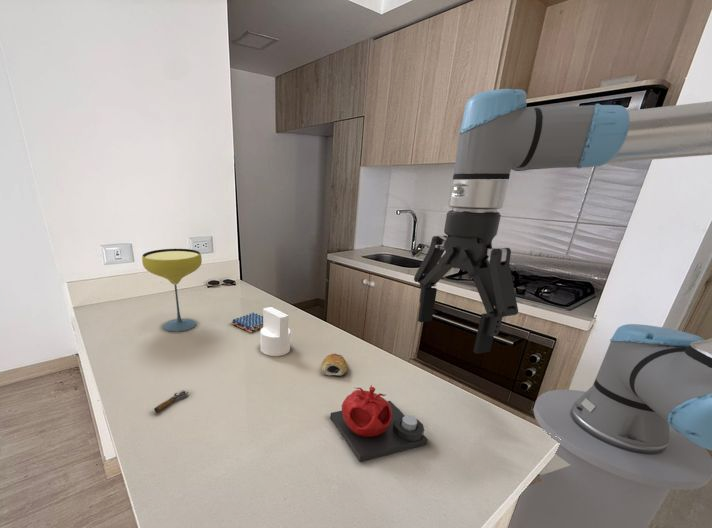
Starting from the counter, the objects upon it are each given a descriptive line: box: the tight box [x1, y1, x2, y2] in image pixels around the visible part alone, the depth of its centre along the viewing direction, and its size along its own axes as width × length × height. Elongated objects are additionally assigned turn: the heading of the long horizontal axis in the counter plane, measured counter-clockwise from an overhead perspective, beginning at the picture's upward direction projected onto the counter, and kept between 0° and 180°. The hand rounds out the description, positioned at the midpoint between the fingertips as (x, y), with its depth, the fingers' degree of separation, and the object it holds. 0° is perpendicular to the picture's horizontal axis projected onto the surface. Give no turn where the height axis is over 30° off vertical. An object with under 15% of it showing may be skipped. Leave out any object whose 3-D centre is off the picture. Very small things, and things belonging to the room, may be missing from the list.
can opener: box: [154, 390, 189, 413], centre depth 78 cm, size 9×2×1 cm, turn 144°
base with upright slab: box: [259, 306, 291, 357], centre depth 101 cm, size 9×9×12 cm
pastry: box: [320, 353, 348, 377], centre depth 93 cm, size 9×7×4 cm
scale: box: [329, 400, 429, 463], centre depth 70 cm, size 15×13×3 cm
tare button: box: [401, 415, 418, 431], centre depth 68 cm, size 3×3×2 cm
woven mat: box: [231, 312, 263, 333], centre depth 120 cm, size 10×11×2 cm
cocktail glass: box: [141, 248, 203, 333], centre depth 114 cm, size 18×18×25 cm
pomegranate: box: [341, 383, 392, 437], centre depth 68 cm, size 10×10×9 cm
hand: (450, 335), depth 60 cm, fingers open, 13 cm apart
